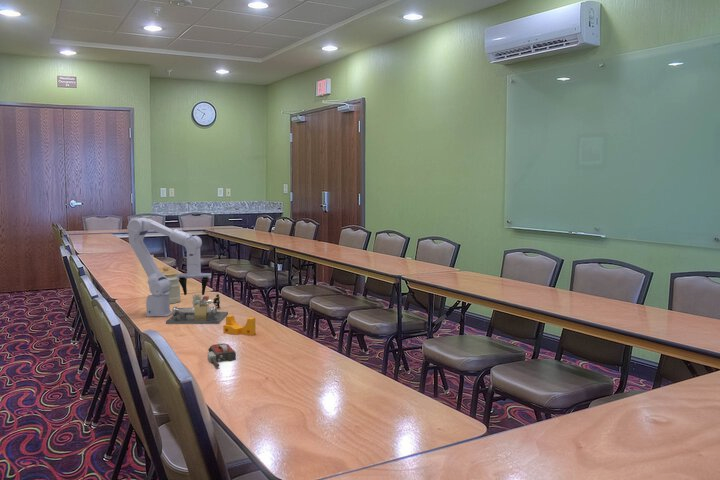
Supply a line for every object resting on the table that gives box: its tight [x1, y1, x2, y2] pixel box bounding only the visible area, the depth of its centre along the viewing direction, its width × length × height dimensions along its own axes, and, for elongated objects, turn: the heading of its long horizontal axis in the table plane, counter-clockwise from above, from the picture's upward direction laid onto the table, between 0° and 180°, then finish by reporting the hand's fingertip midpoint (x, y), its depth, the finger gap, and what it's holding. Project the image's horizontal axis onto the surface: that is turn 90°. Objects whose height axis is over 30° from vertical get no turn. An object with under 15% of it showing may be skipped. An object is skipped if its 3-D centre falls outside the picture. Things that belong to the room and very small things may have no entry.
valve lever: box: [200, 295, 210, 306], centre depth 257 cm, size 11×2×2 cm, turn 1°
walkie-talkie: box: [207, 342, 237, 368], centre depth 197 cm, size 9×4×20 cm
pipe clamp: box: [222, 314, 256, 336], centre depth 230 cm, size 12×4×6 cm, turn 65°
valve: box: [192, 293, 221, 309], centre depth 274 cm, size 7×7×12 cm
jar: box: [159, 265, 181, 305], centre depth 289 cm, size 13×13×18 cm
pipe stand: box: [165, 303, 228, 325], centre depth 254 cm, size 22×18×6 cm
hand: (194, 294), depth 260 cm, fingers open, 7 cm apart
